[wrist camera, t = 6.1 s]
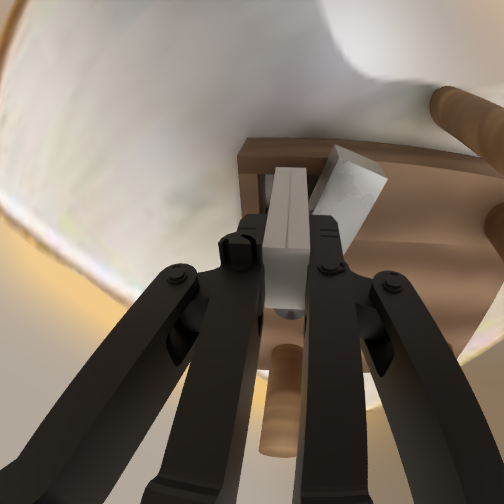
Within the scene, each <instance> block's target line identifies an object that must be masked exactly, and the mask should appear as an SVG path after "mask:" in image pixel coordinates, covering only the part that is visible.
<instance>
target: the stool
mask: <svg viewBox="0 0 504 504" xmlns="http://www.w3.org/2000/svg"><path fill="white" fill-rule="evenodd" d="M334 144H336V145H338V146H341V147H343V148H345V149H348V150H350V151H352V152H355V153H357V154H359V155H361V156H364V157H366V158H368V159H370V160H373V161H375V162H377V163H378V164H379V165H380V167H381V169H382V170H383V172H384V173H385V175H386V177H387V178H388V179H387V181H386V183H385V185H384V187H383V189H382V190H381V192H380V194H379V196H378V198H377V199H376V201H375V203H374V205H373V207H372V208H371V210H370V212H369V214H368V215H367V217H366V219H365V221H364V222H363V224H362V226H361V227H360V229H359V231H358V232H357V234H356V236H355V238H354V239H353V241H352V243H351V244H350V246H349V248H348V249H347V251H346V252H345V254H344V256H343V257H344V261H345V262H346V263H347V264H348V266H349V268H350V270H351V271H353V272H354V273H356V274H358V275H361V276H364V277H368V278H371V279H373V277H374V276H375V275H376V274H377V273H378V272H381V271H395V272H399V273H400V274H402V275H404V276H405V277H406V278H407V279H408V280H409V281H410V282H411V284H412V285H413V287H414V289H415V290H416V292H417V293H418V295H419V296H420V298H421V299H422V301H423V303H424V304H425V306H426V307H427V309H428V311H429V312H430V314H431V316H432V317H433V319H434V321H435V322H436V324H437V326H438V327H439V329H440V331H441V333H442V334H443V336H444V338H445V340H446V341H447V343H448V345H449V347H450V348H451V350H452V352H453V354H454V356H455V358H456V359H457V358H458V356H459V355H460V353H461V352H462V351H463V349H464V348H465V346H466V345H467V343H468V342H469V340H470V339H471V337H472V336H473V334H474V332H475V331H476V329H477V328H478V326H479V325H480V323H481V321H482V320H483V318H484V316H485V315H486V313H487V311H488V309H489V308H490V306H491V304H492V302H493V301H494V299H495V297H496V295H497V293H498V291H499V290H500V288H501V286H502V284H503V282H504V177H503V176H502V175H501V174H500V173H499V172H498V171H496V170H495V169H494V168H493V167H492V166H491V165H489V164H488V163H487V162H486V161H485V160H483V159H482V158H478V157H473V156H468V155H462V154H457V153H451V152H445V151H439V150H433V149H426V148H419V147H411V146H403V145H394V144H385V143H375V142H363V141H350V140H334V139H312V138H247V139H246V141H245V143H244V145H243V147H242V148H241V150H240V152H239V154H238V156H237V161H238V173H239V185H240V197H241V209H242V218H243V217H244V216H245V215H246V214H268V211H269V208H266V193H265V174H275V170H276V167H291V168H306V175H321V173H322V171H323V168H324V166H325V164H326V162H327V159H328V157H329V155H330V153H331V150H332V148H333V146H334ZM263 311H264V322H263V329H262V336H261V344H260V351H259V358H258V365H257V369H258V370H269V377H268V385H267V394H266V401H265V409H264V417H263V424H262V431H261V439H260V445H259V452H260V453H261V454H263V455H267V456H272V457H282V458H288V457H295V456H297V446H298V434H299V419H300V403H301V385H302V364H303V335H304V334H303V325H304V317H302V318H300V319H296V320H287V319H284V318H281V317H279V316H278V315H277V314H276V313H275V311H274V308H265V303H264V310H263ZM361 356H362V366H363V373H370V370H369V367H368V365H367V362H366V360H365V357H364V355H363V352H362V350H361Z"/></svg>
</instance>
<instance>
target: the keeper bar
mask: <svg viewBox="0 0 504 504" xmlns="http://www.w3.org/2000/svg"><path fill="white" fill-rule="evenodd" d="M387 179H388V178H387V177H386V175H385V173H384V172H383V170H382V169H381V167H380V165H379V164H378V163H377V162H375V161H373V160H370V159H368V158H366V157H364V156H361V155H359V154H357V153H355V152H352V151H350V150H348V149H345V148H343V147H341V146H338V145H336V144H334V146H333V148H332V150H331V153H330V155H329V157H328V159H327V162H326V164H325V166H324V168H323V171H322V173H321V175H320V177H319V179H318V182H317V184H316V186H315V188H314V190H313V192H312V195H311V197H310V199H309V201H308V210H309V215H331V216H332V217H333V218H334V219H335V220H336V221H337V222H338V228H339V233H340V239H341V245H342V251H343V256H344V254H345V252H346V251H347V249H348V248H349V246H350V244H351V243H352V241H353V239H354V238H355V236H356V234H357V232H358V231H359V229H360V227H361V226H362V224H363V222H364V221H365V219H366V217H367V215H368V214H369V212H370V210H371V208H372V207H373V205H374V203H375V201H376V199H377V198H378V196H379V194H380V192H381V190H382V189H383V187H384V185H385V183H386V181H387ZM274 311H275V313H276V314H277V315H278V316H279V317H281V318H284V319H287V320H296V319H300V318H302V317H304V315H305V310H301V309H278V308H274Z"/></svg>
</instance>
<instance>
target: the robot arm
mask: <svg viewBox="0 0 504 504" xmlns="http://www.w3.org/2000/svg"><path fill="white" fill-rule="evenodd" d="M218 246H219V253H220V260H221V265H220V267H219V268H216V269H214V270H210V271H205V272H200V273H197V271H196V269H195V268H194V267H193V266H191V265H188V264H182V263H179V264H174V265H171V266H169V267H166V268H165V269H164V270H162V271H161V272H160V273H159V274H158V276H157V277H156V278H155V279H154V280H153V281H152V283H151V284H150V285H149V286H148V287H147V288H146V290H145V291H144V292H143V293H142V294H141V296H140V297H139V298H138V299H137V300H136V301H135V303H134V304H133V305H132V306H131V307H130V309H129V310H128V311H127V313H126V314H125V315H124V316H123V317H122V318H121V320H120V321H119V322H118V323H117V324H116V326H115V327H114V328H113V329H112V331H111V332H110V333H109V334H108V336H107V337H106V338H105V339H104V341H103V342H102V343H101V345H100V346H99V347H98V348H97V349H96V351H95V352H94V353H93V355H92V356H91V357H90V358H89V360H88V361H87V362H86V364H85V365H84V366H83V368H82V369H81V370H80V371H79V373H78V374H77V375H76V377H75V378H74V379H73V381H72V382H71V383H70V384H69V386H68V387H67V389H66V390H65V391H64V393H63V394H62V395H61V397H60V398H59V399H58V401H57V402H56V403H55V405H54V406H53V408H52V409H51V410H50V412H49V413H48V414H47V416H46V417H45V419H44V420H43V421H42V423H41V424H40V426H39V427H38V429H37V430H36V431H35V433H34V434H33V436H32V437H31V439H30V440H29V442H28V443H27V445H26V446H25V448H24V449H23V451H22V452H21V454H20V455H19V457H18V458H17V459H16V460H14V461H13V462H11V463H10V464H8V465H7V466H6V467H4V468H3V469H1V470H0V504H103V503H104V501H105V500H106V498H107V497H108V495H109V494H110V492H111V491H112V489H113V487H114V486H115V484H116V482H117V481H118V479H119V478H120V476H121V474H122V473H123V471H124V469H125V468H126V466H127V465H128V463H129V461H130V460H131V458H132V456H133V455H134V453H135V451H136V450H137V448H138V447H139V445H140V443H141V442H142V440H143V439H144V437H145V435H146V434H147V432H148V430H149V429H150V427H151V425H152V424H153V422H154V421H155V419H156V417H157V416H158V414H159V412H160V411H161V409H162V407H163V406H164V404H165V402H166V401H167V399H168V398H169V396H170V394H171V393H172V391H173V389H174V388H175V386H176V385H177V383H178V381H179V379H180V378H181V376H182V375H183V373H184V371H185V370H186V368H187V366H188V365H189V363H190V366H189V369H188V373H187V377H186V379H185V383H184V386H183V390H182V393H181V397H180V400H179V404H178V407H177V411H176V414H175V418H174V421H173V425H172V428H171V432H170V435H169V440H168V443H167V447H166V450H165V454H164V457H163V461H162V465H161V468H160V471H159V473H158V475H157V476H156V477H155V478H154V479H153V480H151V481H150V482H149V483H148V485H147V486H146V488H145V491H144V493H143V496H142V499H141V503H140V504H236V498H237V493H238V487H239V481H240V475H241V469H242V463H243V456H244V450H245V444H246V437H247V431H248V425H249V418H250V412H251V405H252V398H253V392H254V385H255V378H256V372H257V365H258V358H259V351H260V344H261V336H262V329H263V322H264V311H263V310H264V303H265V308H278V309H301V310H305V315H304V325H303V334H304V335H303V364H302V385H301V403H300V419H299V434H298V446H297V459H296V470H295V481H294V490H293V499H292V504H373V501H372V499H371V497H370V496H369V493H368V480H367V479H368V456H367V423H366V405H365V390H364V377H363V366H362V356H361V350H362V352H363V355H364V357H365V360H366V362H367V365H368V367H369V370H370V373H371V375H372V378H373V380H374V383H375V386H376V388H377V391H378V394H379V397H380V399H381V402H382V405H383V408H384V410H385V413H386V416H387V419H388V422H389V424H390V427H391V430H392V433H393V436H394V439H395V442H396V445H397V448H398V451H399V454H400V458H401V461H402V464H403V467H404V470H405V473H406V476H407V480H408V483H409V487H410V490H411V494H412V497H413V500H414V504H504V463H503V461H502V458H501V455H500V453H499V450H498V447H497V445H496V442H495V440H494V437H493V435H492V433H491V430H490V428H489V426H488V423H487V421H486V419H485V416H484V414H483V412H482V410H481V408H480V405H479V403H478V401H477V399H476V397H475V395H474V393H473V391H472V389H471V387H470V385H469V383H468V381H467V379H466V377H465V375H464V373H463V371H462V369H461V367H460V365H459V363H458V361H457V359H456V358H455V356H454V354H453V352H452V350H451V348H450V347H449V345H448V343H447V341H446V340H445V338H444V336H443V334H442V333H441V331H440V329H439V327H438V326H437V324H436V322H435V321H434V319H433V317H432V316H431V314H430V312H429V311H428V309H427V307H426V306H425V304H424V303H423V301H422V299H421V298H420V296H419V295H418V293H417V292H416V290H415V289H414V287H413V285H412V284H411V282H410V281H409V280H408V279H407V278H406V277H405V276H404V275H402V274H400V273H399V272H395V271H381V272H378V273H377V274H376V275H375V276H374V277H373V279H371V278H368V277H364V276H361V275H358V274H356V273H354V272H353V271H351V270H350V268H349V266H348V264H347V263H346V262H345V261H344V257H343V251H342V245H341V239H340V233H339V228H338V222H337V221H336V220H335V219H334V218H333V217H332V216H331V215H309V210H308V191H307V175H306V168H291V167H276V170H275V176H274V182H273V188H272V194H271V200H270V205H269V211H268V214H246V215H245V216H244V217H243V218H242V219H241V220H240V222H239V226H238V229H237V232H234V233H231V234H228V235H226V236H224V237H223V238H221V240H220V241H219V242H218Z"/></svg>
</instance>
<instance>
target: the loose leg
mask: <svg viewBox="0 0 504 504" xmlns="http://www.w3.org/2000/svg"><path fill="white" fill-rule="evenodd" d="M430 112H431V116H432V118H433V120H434V121H435V123H436V124H437V125H438V126H439V127H441V128H442V129H444V130H445V131H446V132H448V133H449V134H451V135H452V136H453V137H455V138H456V139H458V140H459V141H460V142H462V143H463V144H464V145H466V146H467V147H468V148H470V149H471V150H472V151H473V152H475V153H476V154H477V155H478V156H480V157H481V158H482V159H483V160H485V161H486V162H487V163H488V164H489V165H491V166H492V167H493V168H494V169H495V170H496V171H498V172H499V173H500V174H501V175H502V176H503V177H504V108H503V107H501V106H499V105H496V104H494V103H492V102H490V101H487V100H485V99H483V98H480V97H478V96H475V95H473V94H470V93H468V92H465V91H463V90H460V89H457V88H455V87H451V86H444V87H441V88H439V89H438V90H437V91H436V92H435V93H434V94H433V96H432V98H431V102H430Z"/></svg>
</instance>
